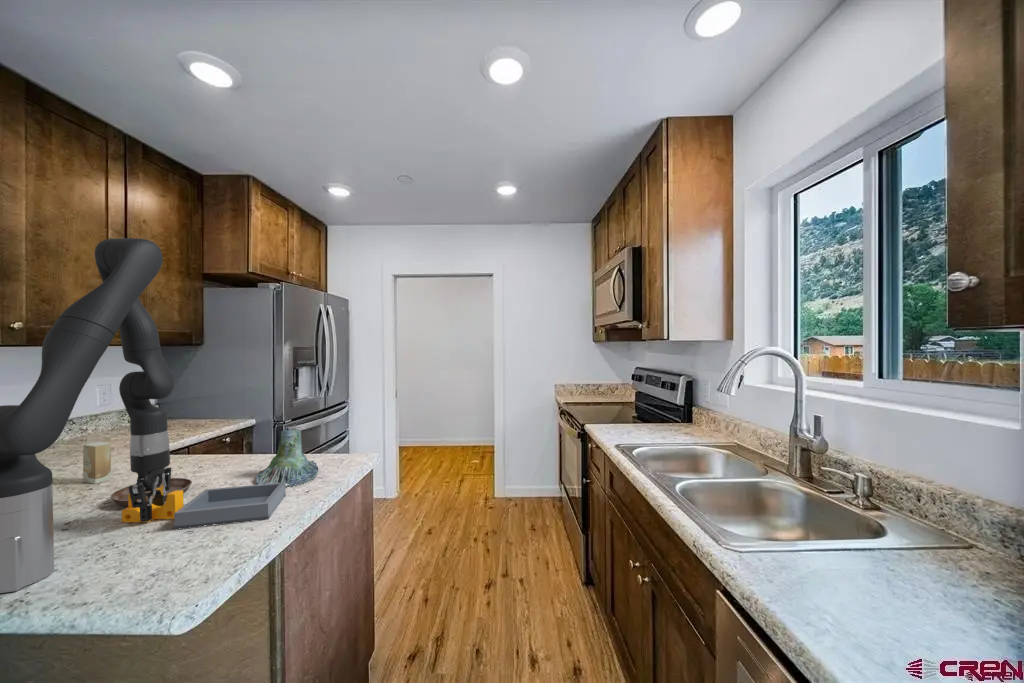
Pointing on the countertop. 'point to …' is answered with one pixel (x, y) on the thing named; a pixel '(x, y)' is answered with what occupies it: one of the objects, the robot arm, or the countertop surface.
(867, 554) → the countertop surface
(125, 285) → the robot arm
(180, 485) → the plant saucer
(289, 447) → the tree stump
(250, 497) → the tray
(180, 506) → the pipe clamp
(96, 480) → the skincare box
